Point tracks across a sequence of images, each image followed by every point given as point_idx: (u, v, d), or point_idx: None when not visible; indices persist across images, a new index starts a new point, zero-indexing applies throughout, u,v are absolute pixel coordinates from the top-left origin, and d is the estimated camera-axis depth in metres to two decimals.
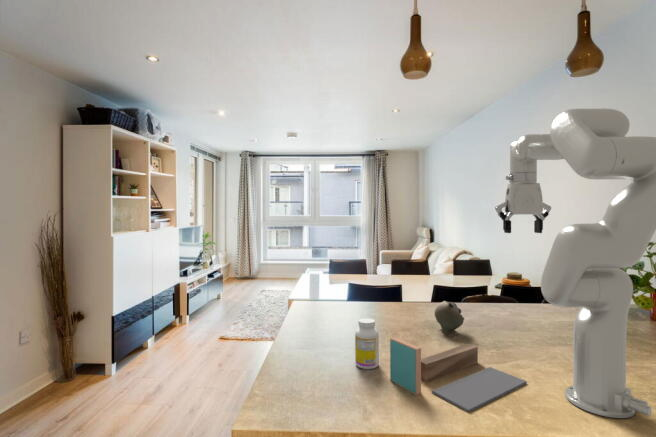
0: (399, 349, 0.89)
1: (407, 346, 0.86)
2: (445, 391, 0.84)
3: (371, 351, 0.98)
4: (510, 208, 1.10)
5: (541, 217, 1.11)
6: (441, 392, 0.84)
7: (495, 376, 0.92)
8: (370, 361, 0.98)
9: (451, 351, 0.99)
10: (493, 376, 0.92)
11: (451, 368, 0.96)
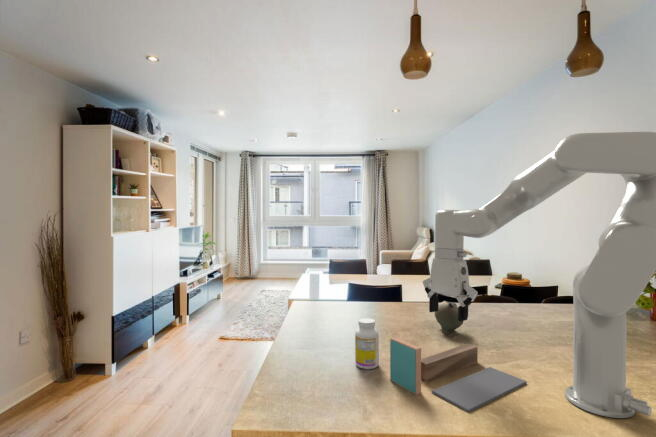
0: (399, 349, 0.89)
1: (407, 346, 0.86)
2: (445, 391, 0.84)
3: (371, 351, 0.98)
4: None
5: None
6: (441, 392, 0.84)
7: (495, 376, 0.92)
8: (370, 361, 0.98)
9: (451, 351, 0.99)
10: (493, 376, 0.92)
11: (451, 368, 0.96)
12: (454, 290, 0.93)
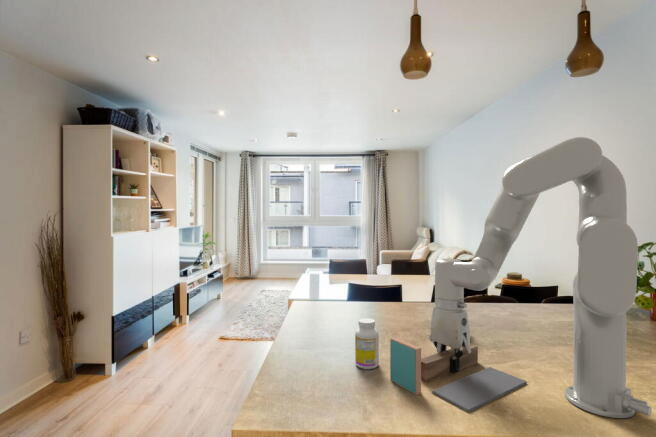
0: (399, 349, 0.89)
1: (407, 346, 0.86)
2: (445, 391, 0.84)
3: (371, 351, 0.98)
4: (469, 341, 0.95)
5: None
6: (441, 392, 0.84)
7: (495, 376, 0.92)
8: (370, 361, 0.98)
9: None
10: (493, 376, 0.92)
11: None
12: (455, 341, 0.93)
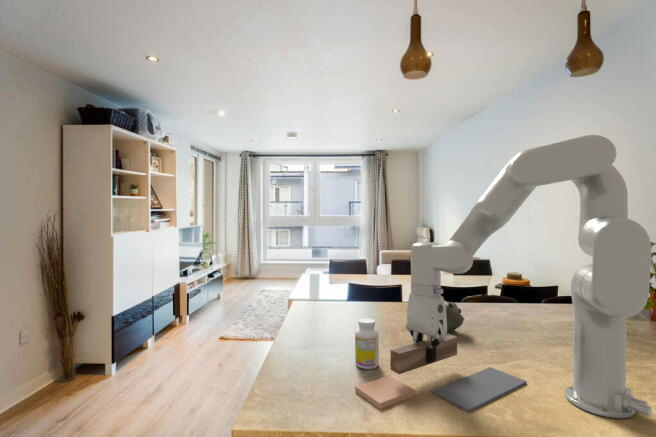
0: None
1: None
2: (445, 391, 0.84)
3: (371, 351, 0.98)
4: (446, 329, 0.89)
5: None
6: (441, 392, 0.84)
7: (495, 376, 0.92)
8: (370, 361, 0.98)
9: None
10: (493, 376, 0.92)
11: None
12: (430, 329, 0.88)
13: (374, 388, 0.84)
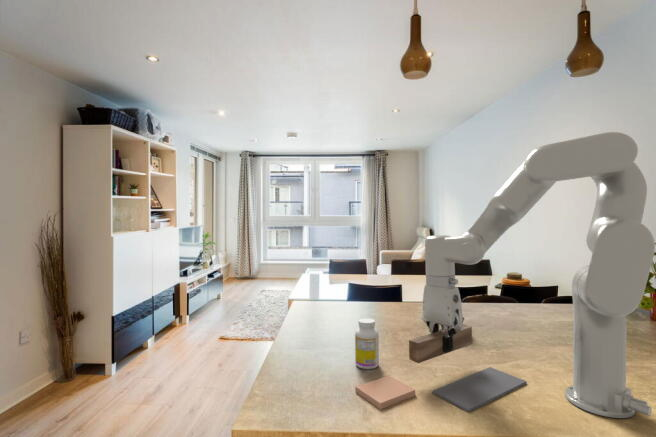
0: None
1: None
2: (445, 391, 0.84)
3: (371, 351, 0.98)
4: (461, 318, 0.92)
5: None
6: (441, 392, 0.84)
7: (495, 376, 0.92)
8: (370, 361, 0.98)
9: None
10: (493, 376, 0.92)
11: None
12: (447, 319, 0.91)
13: (374, 388, 0.84)
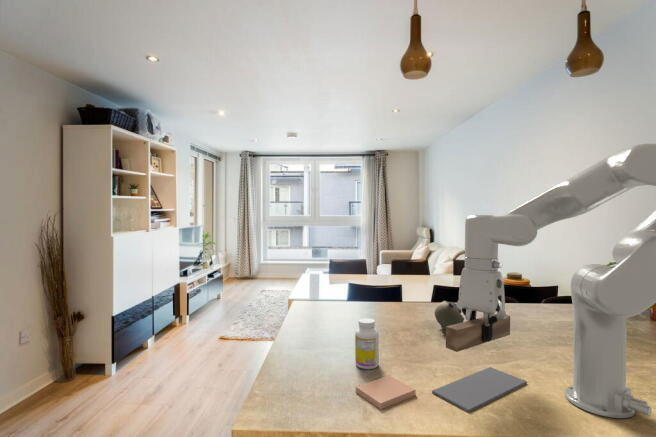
0: None
1: None
2: (445, 391, 0.84)
3: (371, 351, 0.98)
4: (504, 305, 0.84)
5: None
6: (441, 392, 0.84)
7: (495, 376, 0.92)
8: (370, 361, 0.98)
9: (482, 319, 0.88)
10: (493, 376, 0.92)
11: None
12: (488, 305, 0.83)
13: (374, 388, 0.84)
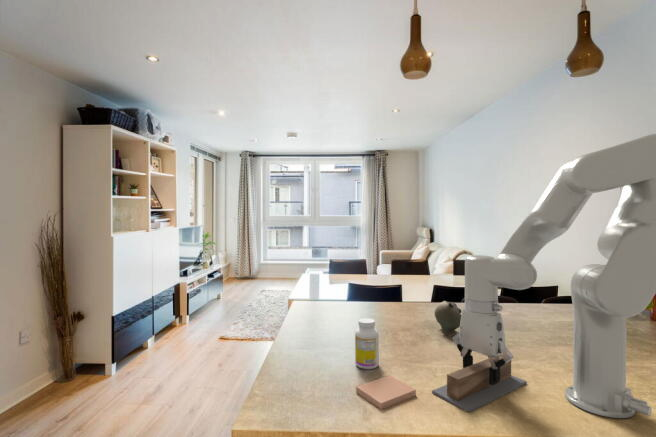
0: None
1: None
2: (445, 391, 0.84)
3: (371, 351, 0.98)
4: None
5: None
6: (441, 392, 0.84)
7: None
8: (370, 361, 0.98)
9: (483, 363, 0.88)
10: None
11: (484, 382, 0.86)
12: (489, 348, 0.83)
13: (375, 388, 0.84)
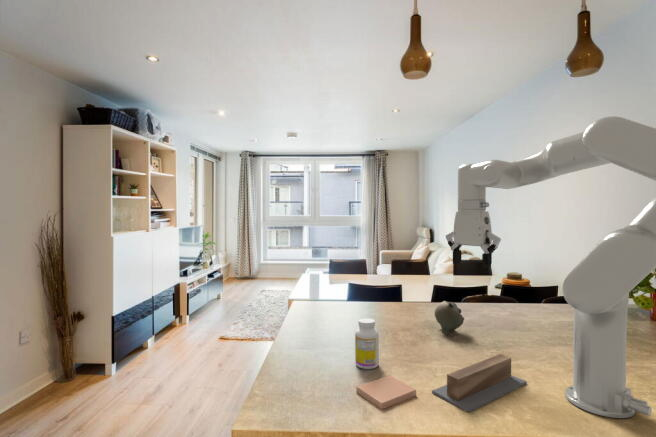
0: None
1: None
2: (445, 391, 0.84)
3: (371, 351, 0.98)
4: (491, 239, 1.00)
5: None
6: (441, 392, 0.84)
7: None
8: (370, 361, 0.98)
9: (483, 363, 0.88)
10: None
11: (484, 382, 0.86)
12: (478, 238, 0.99)
13: (375, 388, 0.84)
